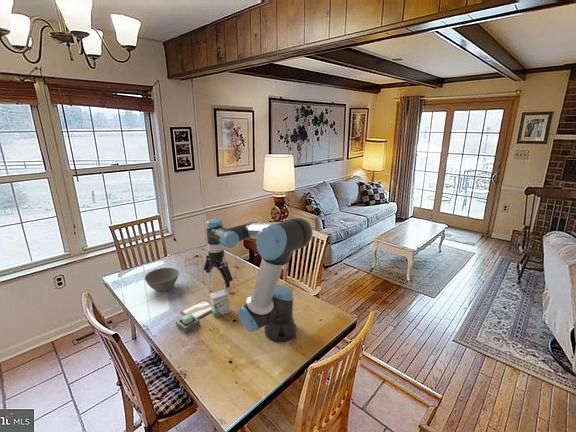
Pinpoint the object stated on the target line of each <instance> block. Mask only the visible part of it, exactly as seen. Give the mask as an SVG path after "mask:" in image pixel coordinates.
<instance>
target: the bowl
mask: <svg viewBox="0 0 576 432" xmlns="http://www.w3.org/2000/svg"><path fill="white" fill-rule="evenodd" d="M179 272H180V271H179V270H178V269H177V268H174V267H161V268H156V269H153V270H151V271H149V272H148V273H146V274H145V275H144V280H145V282H146V284H147V285H148V286H149V288H151V289H153V290H154V291H157V292H168V291H169V290H171V289H173V287H174V286H175V284H176V282H177V281H178V278H179V275H180V273H179Z"/></svg>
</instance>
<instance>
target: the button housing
mask: <svg viewBox="0 0 576 432" xmlns="http://www.w3.org/2000/svg"><path fill="white" fill-rule="evenodd" d="M189 315H191V314H189ZM192 316H193V315H192ZM200 323H201V322H200V319H197V318H196V317H194V316H193V322H192V323H191V324H189V325H187V326H185V325H183V324H182V317H181V318H180V319H177V320H176V321H175V327H176V328H177V329H179V330H180V331H182V333H184V334H188V333H189V332H190V331H191V332H192V331H193V330H194V329H196V328H198V327H199V326H200V325H201V324H200Z"/></svg>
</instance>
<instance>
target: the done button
mask: <svg viewBox="0 0 576 432" xmlns="http://www.w3.org/2000/svg"><path fill="white" fill-rule="evenodd" d="M181 318H182V324H183V325H185V326H187V325H189V324H191V323H192V322H193V316H192V315H185V316H184V315H183V316H182V317H181Z"/></svg>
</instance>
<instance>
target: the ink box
mask: <svg viewBox="0 0 576 432" xmlns="http://www.w3.org/2000/svg"><path fill="white" fill-rule="evenodd" d="M229 295H230V294H229V292H228V293H226V294H225V292H224V289H222V290H217V291H214V292H212V293H210V294H209V297H210V300H209V302H210V303H211V312H210V313H211V315H212V316H213V317H214V318H219V317H221V316H223V315H227V314H229V313H231V310H230V296H229Z"/></svg>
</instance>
